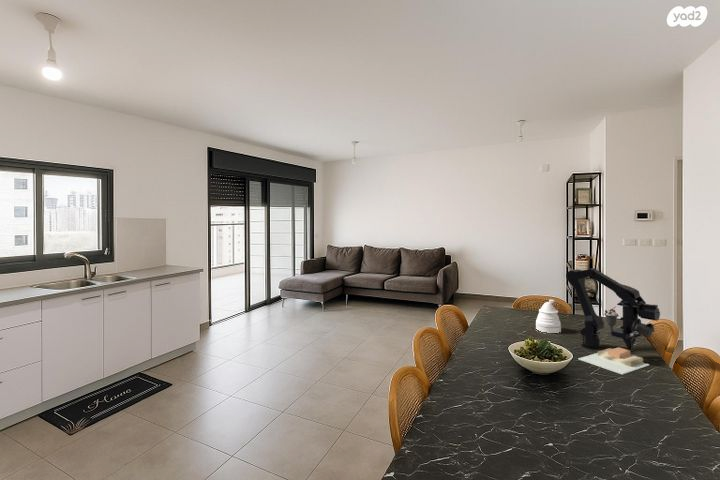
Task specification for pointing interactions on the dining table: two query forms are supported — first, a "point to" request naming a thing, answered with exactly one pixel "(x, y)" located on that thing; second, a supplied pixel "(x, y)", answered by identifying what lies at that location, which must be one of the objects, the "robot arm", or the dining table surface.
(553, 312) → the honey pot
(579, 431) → the dining table surface
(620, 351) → the terracotta tile
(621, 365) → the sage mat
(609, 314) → the sundae
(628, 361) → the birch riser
